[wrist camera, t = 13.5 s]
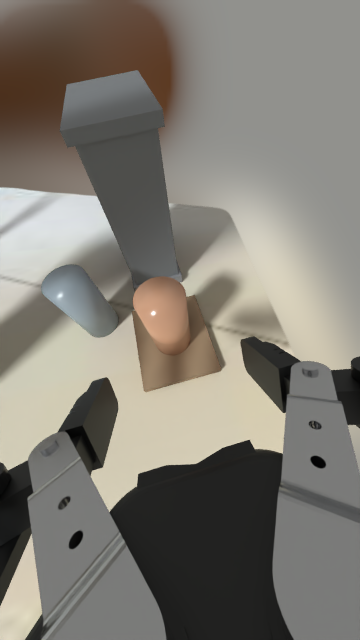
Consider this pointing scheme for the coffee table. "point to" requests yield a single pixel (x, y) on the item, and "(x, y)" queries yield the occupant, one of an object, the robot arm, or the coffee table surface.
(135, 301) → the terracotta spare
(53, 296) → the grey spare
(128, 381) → the coffee table surface
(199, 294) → the coffee table surface
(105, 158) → the post
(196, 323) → the pad
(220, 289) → the coffee table surface
